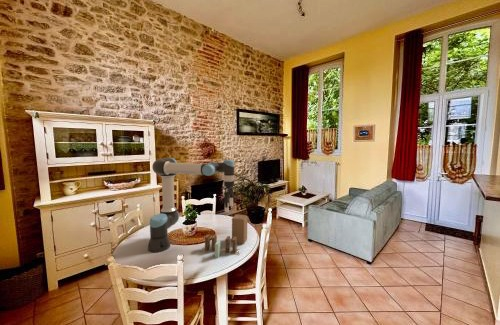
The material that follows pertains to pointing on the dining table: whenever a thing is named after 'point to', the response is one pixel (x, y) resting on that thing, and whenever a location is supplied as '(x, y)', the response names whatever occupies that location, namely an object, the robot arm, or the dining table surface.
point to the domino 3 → (227, 244)
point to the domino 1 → (207, 242)
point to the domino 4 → (234, 245)
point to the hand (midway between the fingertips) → (229, 208)
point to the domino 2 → (214, 240)
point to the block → (239, 228)
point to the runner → (221, 251)
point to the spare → (217, 249)
